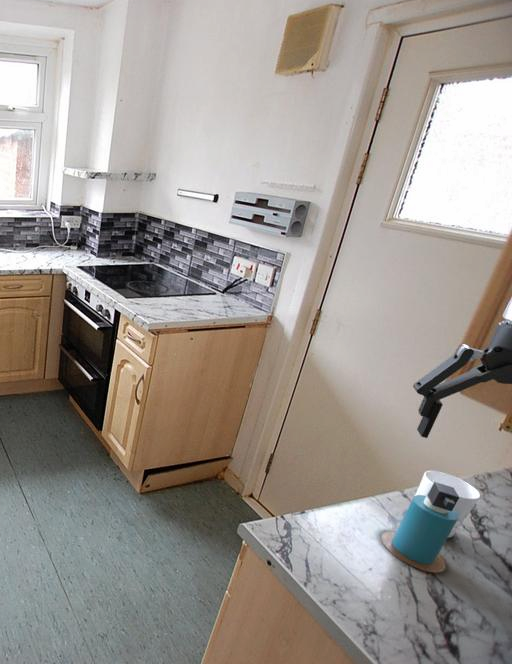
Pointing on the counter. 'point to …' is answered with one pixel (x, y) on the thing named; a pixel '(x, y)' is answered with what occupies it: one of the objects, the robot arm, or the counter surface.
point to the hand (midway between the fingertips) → (474, 447)
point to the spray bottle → (427, 524)
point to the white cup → (462, 488)
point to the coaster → (433, 568)
